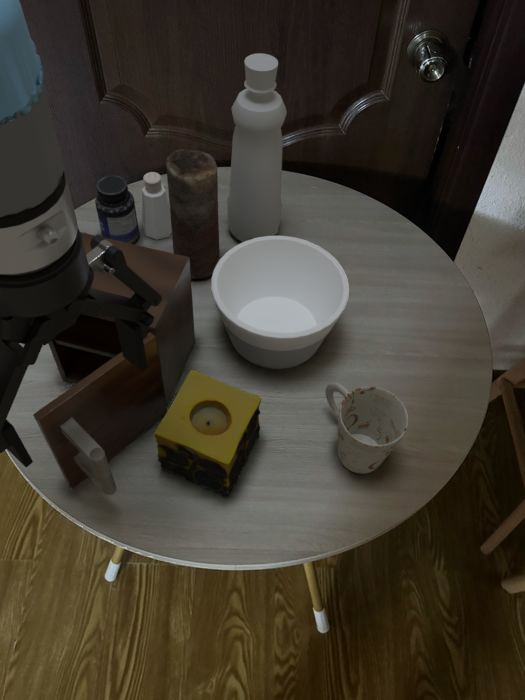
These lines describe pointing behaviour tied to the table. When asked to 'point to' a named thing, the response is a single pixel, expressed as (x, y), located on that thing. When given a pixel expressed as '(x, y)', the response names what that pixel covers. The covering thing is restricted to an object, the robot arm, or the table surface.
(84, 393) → the door
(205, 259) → the candle
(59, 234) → the robot arm
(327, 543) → the table surface
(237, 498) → the table surface
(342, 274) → the bowl
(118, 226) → the pill bottle
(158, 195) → the salt shaker
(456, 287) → the table surface
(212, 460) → the candle
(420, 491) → the table surface
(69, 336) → the cabinet
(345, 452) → the mug
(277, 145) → the bottle
